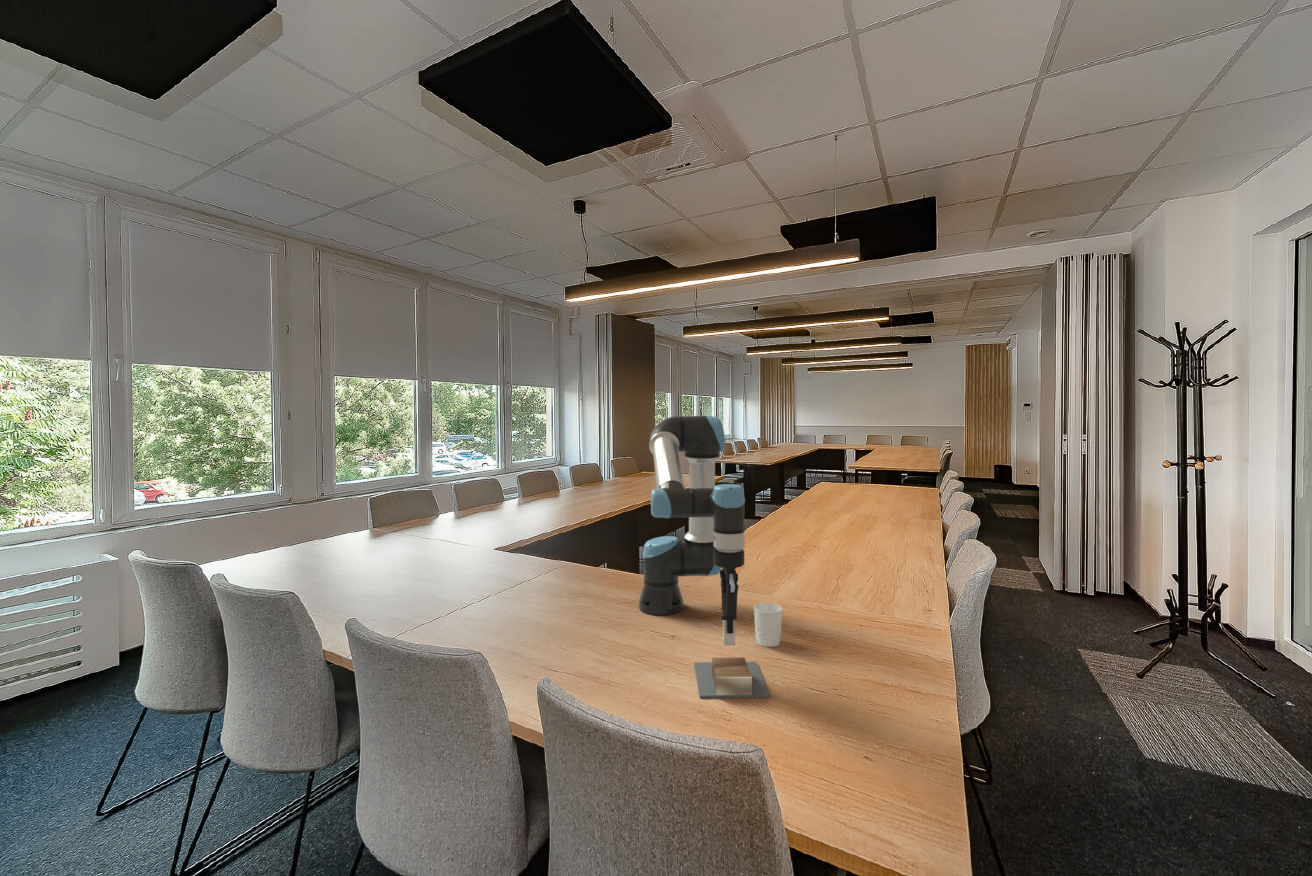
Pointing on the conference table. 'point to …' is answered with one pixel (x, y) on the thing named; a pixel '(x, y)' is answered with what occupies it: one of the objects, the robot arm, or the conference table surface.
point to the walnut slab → (731, 676)
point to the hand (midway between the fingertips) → (729, 644)
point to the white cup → (768, 624)
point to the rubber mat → (709, 691)
